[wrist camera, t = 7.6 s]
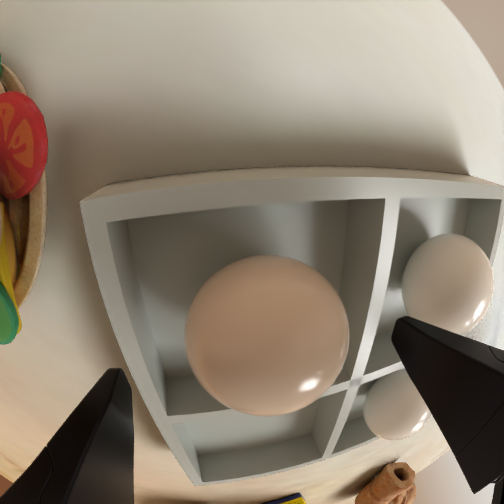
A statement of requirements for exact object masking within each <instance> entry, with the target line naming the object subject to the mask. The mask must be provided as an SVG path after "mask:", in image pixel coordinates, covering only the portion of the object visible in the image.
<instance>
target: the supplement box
mask: <svg viewBox="0 0 504 504" xmlns="http://www.w3.org/2000/svg"><path fill="white" fill-rule="evenodd" d="M265 504H306V502H305V500H304V498H303V497H302V495H301V494H300V493H298V494H295V495H292V496H289V497H286V498H283V499H280V500H276V501H273V502H269V503H265Z"/></svg>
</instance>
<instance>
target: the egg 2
mask: <svg viewBox="0 0 504 504" xmlns="http://www.w3.org/2000/svg"><path fill="white" fill-rule="evenodd" d="M493 290H494V278H493V271H492V267H491V264H490V262H489V259H488V258H487V256H486V254H485V252H484V251H483V250H482V249H481V248H480V246H479V245H477V244H476V243H475V242H474V241H472V240H471V239H469V238H467V237H465V236H462V235H458V234H450V233H448V234H440V235H437V236H434V237H432V238H429V239H428V240H426V241H425V242H423V243H422V244H421V245H420V246H419V247H417V249H416V250H415V251H414V252H413V254H412V255H411V256H410V258H409V260H408V262H407V264H406V266H405V269H404V272H403V276H402V285H401V292H402V300H403V304H404V307H405V310H406V312H407V314H408V316H410V317H412V318H415V319H418V320H421V321H423V322H426V323H429V324H431V325H434V326H437V327H440V328H442V329H445V330H448V331H451V332H453V333H456V334H459V335H462V334H465V333H466V332H468V331H470V330H471V329H473V328H474V327H475V326H476V325H477V324H478V323H479V322H480V321H481V320H482V318H483V317H484V315H485V314H486V312H487V310H488V308H489V306H490V303H491V300H492V296H493Z"/></svg>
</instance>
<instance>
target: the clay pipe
mask: <svg viewBox="0 0 504 504" xmlns="http://www.w3.org/2000/svg"><path fill="white" fill-rule="evenodd" d="M414 481H415V471H413V470H412V469H411V468H410V467H409V465H408V464H407V463H403V462H401V463H388V464H387V465H386V466H385V467H384V468H383V470H382V471H381V473H380V474H379V475H378V477H376V478H375V479H373V480H372V481H371V482H370V483H369V484H368V485H366V486H365V487H364V488H363V489H362V490H361V492H360V493H359V494H358V495H357V497H356V499H355V504H411V503H412V502H413V501H414V500H415V497H416V486H415V484H414Z"/></svg>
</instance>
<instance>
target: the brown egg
mask: <svg viewBox="0 0 504 504" xmlns="http://www.w3.org/2000/svg"><path fill="white" fill-rule="evenodd" d="M184 344H185V351H186V356H187V359H188V362H189V365H190V367H191V370H192V372H193V374H194V375H195V377H196V379H197V380H198V382H199V383H200V385H201V386H202V387H203V388H204V389H205V390H206V391H207V392H208V393H209V394H210V395H211V396H212V397H213V398H214V399H216V400H217V401H218V402H220V403H221V404H223V405H225V406H226V407H228V408H231V409H233V410H235V411H238V412H240V413H244V414H248V415H254V416H264V417H268V416H278V415H284V414H289V413H292V412H295V411H298V410H300V409H302V408H304V407H306V406H308V405H310V404H311V403H313V402H314V401H316V400H317V399H318V398H319V397H321V396H322V395H323V394H324V393H325V392H326V391H327V390H328V389H329V388H330V387H331V385H332V384H333V383H334V381H335V380H336V378H337V377H338V375H339V373H340V372H341V370H342V368H343V365H344V362H345V359H346V356H347V353H348V347H349V322H348V317H347V314H346V310H345V307H344V305H343V302H342V300H341V298H340V296H339V295H338V293H337V292H336V290H335V288H334V287H333V286H332V285H331V283H330V282H329V281H328V280H327V279H326V278H325V277H324V276H323V275H321V274H320V273H319V272H318V271H316V270H315V269H314V268H312V267H310V266H309V265H307V264H305V263H303V262H301V261H298V260H296V259H293V258H289V257H284V256H279V255H268V254H267V255H255V256H250V257H246V258H243V259H239V260H237V261H234V262H232V263H230V264H228V265H226V266H224V267H223V268H221V269H219V270H218V271H217V272H216V273H214V274H213V275H212V276H211V277H210V278H209V279H208V280H207V281H206V282H205V283H204V284H203V285H202V286H201V288H200V289H199V290H198V292H197V293H196V295H195V297H194V299H193V300H192V302H191V305H190V307H189V310H188V313H187V317H186V321H185V329H184Z"/></svg>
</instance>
